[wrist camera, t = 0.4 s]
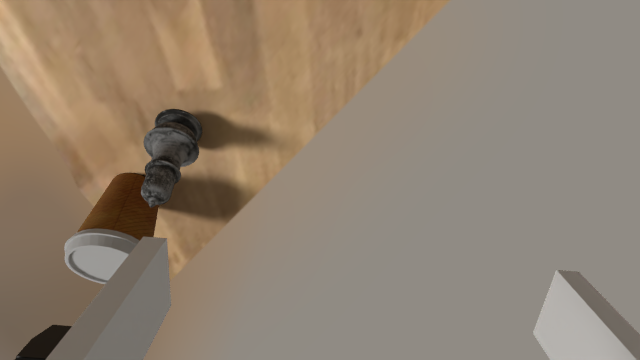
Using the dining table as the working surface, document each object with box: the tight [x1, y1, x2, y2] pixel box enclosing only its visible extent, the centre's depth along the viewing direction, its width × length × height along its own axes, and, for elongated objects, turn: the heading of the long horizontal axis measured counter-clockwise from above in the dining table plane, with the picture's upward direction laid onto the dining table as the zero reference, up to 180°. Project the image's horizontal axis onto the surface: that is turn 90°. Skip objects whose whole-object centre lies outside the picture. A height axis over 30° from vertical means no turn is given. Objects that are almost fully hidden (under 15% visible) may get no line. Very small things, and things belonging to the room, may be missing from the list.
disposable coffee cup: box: [64, 173, 159, 284], centre depth 51 cm, size 10×10×12 cm
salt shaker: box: [141, 109, 202, 208], centre depth 43 cm, size 6×6×12 cm
